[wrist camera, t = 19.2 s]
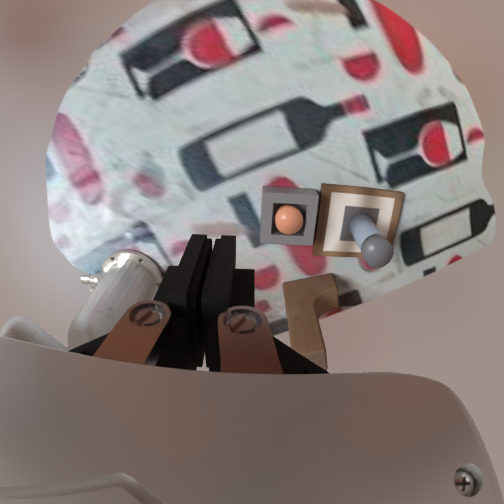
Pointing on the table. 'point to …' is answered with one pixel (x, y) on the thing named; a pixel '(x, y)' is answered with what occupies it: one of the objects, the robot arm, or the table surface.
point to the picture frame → (344, 208)
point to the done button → (288, 218)
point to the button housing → (289, 195)
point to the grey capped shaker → (370, 241)
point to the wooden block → (309, 314)
